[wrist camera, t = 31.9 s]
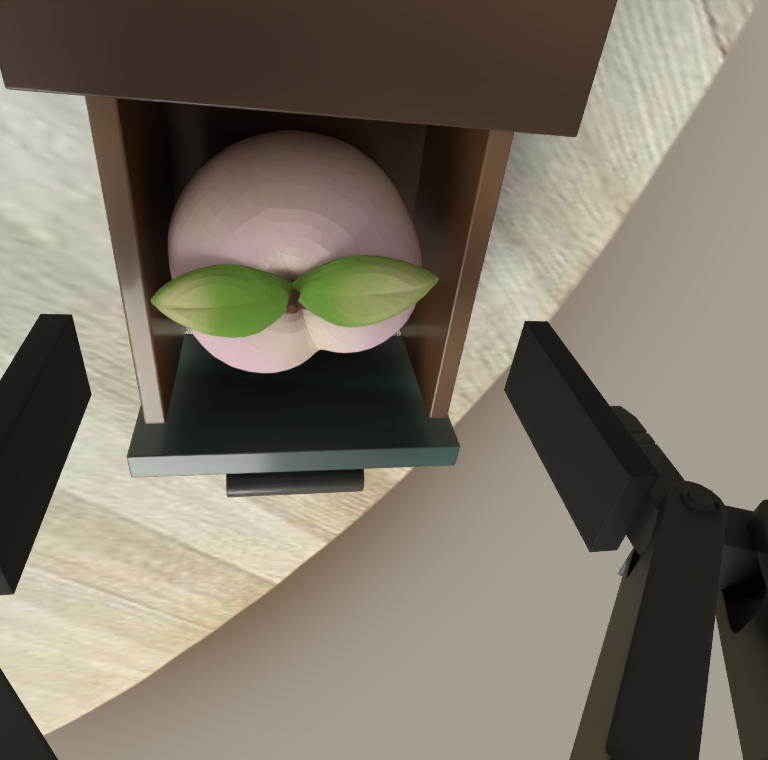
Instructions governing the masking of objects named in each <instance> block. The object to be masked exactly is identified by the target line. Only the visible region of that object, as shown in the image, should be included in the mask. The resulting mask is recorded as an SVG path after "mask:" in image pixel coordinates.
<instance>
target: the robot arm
mask: <svg viewBox="0 0 768 760" xmlns="http://www.w3.org/2000/svg"><path fill="white" fill-rule="evenodd" d="M504 391H505V392H506V394H507V396H508V398H509V400H510V402H511V404H512V406H513V407H514V410H515V411H516V413H517V415H518V417H519V419H520V421H521V423H522V425H523V427H524V429H525V430H526V432H527V434H528V436H529V438H530V440H531V442H532V444H533V446H534V447H535V449H536V451H537V453H538V455H539V457H540V459H541V461H542V463H543V464H544V466H545V468H546V470H547V472H548V474H549V476H550V478H551V480H552V482H553V483H554V485H555V487H556V489H557V491H558V493H559V495H560V497H561V499H562V500H563V502H564V504H565V506H566V508H567V510H568V512H569V514H570V516H571V518H572V519H573V521H574V523H575V525H576V527H577V529H578V531H579V533H580V535H581V536H582V538H583V540H584V542H585V544H586V546H587V548H588V550H589V552H598V551H611V550H617V549H618V548H619V546H620V544H621V542H622V540H623V539H624V537H625V535H627V537H628V539H629V540H630V542H631V543H632V545H633V547H634V548H633V549H632V551H631V553H630V554H629V556H628V558H627V559H626V561H625V563H624V564H623V566H622V567H621V569H620V571H619V573H618V574H619V575H621V576H622V575H623V577H622V580H621V584H620V587H619V590H618V594H617V598H616V601H615V605H614V608H613V611H612V615H611V618H610V622H609V625H608V628H607V632H606V635H605V639H604V642H603V646H602V649H601V653H600V656H599V659H598V663H597V666H596V670H595V674H594V677H593V680H592V684H591V687H590V691H589V694H588V697H587V701H586V704H585V708H584V711H583V715H582V718H581V722H580V725H579V729H578V732H577V736H576V739H575V742H574V746H573V749H572V753H571V756H570V760H699V752H700V743H701V735H702V726H703V717H704V709H705V700H706V692H707V683H708V674H709V666H710V657H711V649H712V640H713V631H714V622H715V614H716V619H717V624H718V629H719V635H720V640H721V645H722V650H723V656H724V661H725V666H726V671H727V677H728V681H729V687H730V692H731V697H732V703H733V708H734V713H735V718H736V723H737V729H738V734H739V739H740V744H741V750H742V754H743V760H768V500H763V501H762V502H761V503H760V504H759V506H758V507H757V508H756V509H755V511H748V510H744V509H739V508H735V507H730V506H725V505H724V504H723V502H722V501H721V499H720V498H719V497H718V496H717V495H716V494H714V493H713V492H712V491H711V490H709V489H707V488H705V487H704V486H702V485H700V484H696V483H693V482H690V481H685V480H684V479H683V477H682V476H681V475H680V474H679V472H678V471H677V470H676V468H675V467H674V466H673V465H672V463H671V462H670V461H669V459H668V458H667V457H666V455H665V454H664V453H663V452H662V450H661V449H660V448H659V446H657V444H655V441H654V440H653V439H652V437H651V436H650V435H649V434H647V433H646V430H645V428H644V427H643V426H642V424H641V423H640V422H639V421H638V419H637V418H636V417H635V416H633V415H632V414H631V413H629V412H628V411H626V410H625V409H624V408H623V407H621V406H609V404H608V403H607V402H606V400H605V399H604V398H603V396H602V395H601V393H600V392H599V391H598V389H597V388H596V387H595V385H594V384H593V383H592V381H591V380H590V379H589V377H588V376H587V374H586V373H585V372H584V370H583V369H582V368H581V366H580V365H579V364H578V362H577V361H576V360H575V358H574V357H573V355H572V354H571V353H570V352H569V350H568V349H567V347H566V346H565V345H564V343H563V342H562V341H561V339H560V338H559V336H558V335H557V334H556V332H555V331H554V330H553V328H552V327H551V326H550V324H549V323H548V322H547V321H525V323H524V326H523V329H522V333H521V336H520V339H519V343H518V346H517V349H516V352H515V356H514V359H513V362H512V366H511V369H510V373H509V376H508V379H507V382H506V386H505V389H504ZM90 397H91V390H90V386H89V382H88V378H87V374H86V370H85V366H84V362H83V358H82V354H81V350H80V346H79V342H78V338H77V334H76V330H75V325H74V321H73V317H72V315H68V314H40V316H39V318H38V319H37V321H36V322H35V324H34V326H33V327H32V329H31V331H30V332H29V334H28V336H27V337H26V339H25V341H24V342H23V344H22V345H21V347H20V349H19V350H18V352H17V354H16V355H15V357H14V359H13V360H12V362H11V364H10V365H9V367H8V368H7V370H6V372H5V373H4V375H3V377H2V378H1V380H0V595H10V594H14V593H15V590H16V587H17V585H18V582H19V580H20V577H21V575H22V572H23V569H24V567H25V564H26V562H27V559H28V557H29V554H30V551H31V549H32V546H33V544H34V541H35V539H36V536H37V533H38V531H39V528H40V526H41V523H42V521H43V518H44V515H45V513H46V510H47V508H48V505H49V503H50V500H51V497H52V495H53V492H54V490H55V487H56V485H57V482H58V479H59V477H60V474H61V472H62V469H63V467H64V464H65V461H66V459H67V456H68V454H69V451H70V449H71V446H72V443H73V441H74V438H75V436H76V433H77V431H78V428H79V425H80V423H81V420H82V418H83V415H84V412H85V410H86V407H87V405H88V402H89V400H90ZM0 760H58V759H57V758H56V756H55V754H54V752H53V751H52V749H51V748H50V746H49V745H48V743H47V741H46V740H45V738H44V737H43V735H42V733H41V732H40V730H39V729H38V727H37V726H36V724H35V722H34V721H33V719H32V718H31V716H30V714H29V713H28V711H27V710H26V708H25V707H24V705H23V703H22V702H21V700H20V699H19V697H18V695H17V694H16V692H15V691H14V689H13V688H12V686H11V684H10V683H9V681H8V680H7V678H6V676H5V675H4V673H3V672H2V670H1V669H0Z"/></svg>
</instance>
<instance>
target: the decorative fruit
mask: <svg viewBox="0 0 768 760" xmlns="http://www.w3.org/2000/svg"><path fill="white" fill-rule="evenodd" d="M168 256H169V266H170V272H171V278H172V280H171V281H169V282H168V283H166V284H165V285H164V286H162V287H161V288H160V289H159V290H158V291H157V292H156V293H155V295H154V296H153V297H152V298H151V303H152V304H153V305H154V306H156V307H157V308H158V309H159V310H160V311H161V312H162V313H163V314H165V315H166V316H167V317H169V318H170V319H172V320H173V321H175V322H177V323H179V324H181V325H183V326H185V327H187V328H189V329H190V330H191V332H192V333H193V335H194V336H195V337H196V339H197V340H198V341H199V342H200V343H201V345H202V346H203V347H204V348H205V349H206V350H207V351H209V352H210V353H211V354H212V355H213V356H214V357H216V358H217V359H219V360H221V361H223V362H224V363H226V364H228V365H230V366H231V367H235V368H238V369H241V370H245V371H248V372H257V373H276V372H280V371H285V370H288V369H291V368H293V367H296V366H298V365H300V364H302V363H303V362H305V361H306V360H308V359H309V358H310V357H311V356H312V355H313V354H314V353H316V352H317V351H319V350H328V351H332V352H339V353H351V352H359V351H363V350H366V349H370V348H373V347H375V346H377V345H379V344H381V343H383V342H384V341H386V340H387V339H388V338H390V337H391V336H393V335H394V334H396V333H397V332H398V330H399V329H400V328H401V327H402V326H403V325H404V324H405V323H406V322H407V320H408V318H409V317H410V315H411V313H412V311H413V310H414V308H415V305H416V303H417V302H418V301H419V300H420V299H421V298H423V297H424V296H425V295H426V294H427V293H428V292H429V290H430V289H431V288H432V287H433V286H434V285H435V284H436V283H437V282H438V280H439V279H438V277H437V276H436V275H435V274H433V273H431V272H430V271H428V270H426V269H424V268H422V257H421V250H420V244H419V240H418V237H417V233H416V230H415V227H414V225H413V222H412V220H411V217H410V215H409V213H408V211H407V208H406V206H405V204H404V202H403V200H402V198H401V196H400V194H399V192H398V191H397V189H396V187H395V186H394V184H393V183H392V181H391V180H390V178H389V177H388V176H387V174H386V173H385V172H384V171H383V170H382V169H381V168H380V167H379V166H378V165H377V164H376V163H375V162H374V161H373V160H372V159H371V158H370V157H368V156H367V155H366V154H364V153H363V152H361V151H360V150H358V149H357V148H355V147H354V146H352V145H350V144H348V143H346V142H344V141H342V140H339V139H337V138H334V137H331V136H327V135H323V134H318V133H313V132H306V131H298V130H278V131H274V132H269V133H264V134H259V135H256V136H253V137H249V138H246V139H244V140H241V141H238V142H236V143H234V144H232V145H230V146H228V147H227V148H225V149H223V150H222V151H221V152H219V153H218V154H216V155H215V156H214V157H213V158H211V159H210V160H209V161H208V162H207V163H206V164H204V165H203V166H202V167H201V168H200V169H199V170H198V171H197V172H196V173H195V174H194V175H193V177H192V178H191V179H190V180H189V181H188V183H187V184H186V186H185V187H184V189H183V191H182V192H181V194H180V196H179V198H178V200H177V202H176V204H175V207H174V209H173V212H172V216H171V220H170V224H169V230H168Z"/></svg>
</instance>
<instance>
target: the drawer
mask: <svg viewBox="0 0 768 760" xmlns="http://www.w3.org/2000/svg"><path fill="white" fill-rule="evenodd" d="M85 99H86V104H87V110H88V115H89V121H90V126H91V132H92V137H93V143H94V148H95V154H96V159H97V165H98V170H99V176H100V181H101V187H102V192H103V198H104V203H105V209H106V214H107V219H108V225H109V230H110V236H111V241H112V247H113V252H114V258H115V263H116V269H117V274H118V280H119V285H120V291H121V296H122V302H123V307H124V313H125V318H126V324H127V329H128V335H129V340H130V346H131V351H132V357H133V362H134V367H135V373H136V378H137V384H138V389H139V395H140V400H141V406H140V410H139V414H138V417H137V421H136V425H135V428H134V432H133V436H132V439H131V443H130V447H129V450H128V454H127V460H128V465H129V469H130V474H131V477H157V476H183V475H209V474H226V492H227V497H246V496H268V495H290V494H312V493H334V492H356V491H363V488H364V469H367V468H394V467H420V466H444V465H445V466H446V465H455V463H456V460H457V456H458V452H459V448H460V445H459V442H458V440H457V437H456V435H455V432H454V429H453V427H452V424H451V421H450V419H449V416H448V410H449V406H450V402H451V398H452V393H453V389H454V385H455V381H456V376H457V372H458V368H459V364H460V359H461V355H462V351H463V347H464V342H465V338H466V334H467V330H468V326H469V321H470V317H471V313H472V309H473V304H474V300H475V296H476V292H477V287H478V283H479V279H480V275H481V270H482V266H483V262H484V258H485V253H486V249H487V245H488V241H489V237H490V232H491V228H492V224H493V220H494V215H495V211H496V207H497V203H498V198H499V194H500V190H501V186H502V181H503V177H504V173H505V169H506V165H507V160H508V156H509V152H510V148H511V143H512V139H513V135H514V132H507V131H495V130H483V129H472V128H460V127H448V126H436V125H424V124H412V123H401V122H389V121H377V120H365V119H353V118H341V117H330V116H318V115H306V114H294V113H282V112H270V111H258V110H247V109H235V108H223V107H211V106H199V105H187V104H176V103H164V102H152V101H140V100H128V99H116V98H105V97H93V96H85ZM278 130H298V131H306V132H313V133H318V134H323V135H327V136H331V137H334V138H337V139H339V140H342V141H344V142H346V143H348V144H350V145H352V146H354V147H355V148H357V149H358V150H360V151H361V152H363V153H364V154H366V155H367V156H368V157H370V158H371V159H372V160H373V161H374V162H375V163H376V164H377V165H378V166H379V167H380V168H381V169H382V170H383V171H384V172H385V173H386V174H387V176H388V177H389V178H390V180H391V181H392V183H393V184H394V186H395V187H396V189H397V191H398V192H399V194H400V196H401V198H402V200H403V202H404V204H405V206H406V208H407V211H408V213H409V215H410V217H411V220H412V222H413V225H414V227H415V230H416V233H417V237H418V240H419V244H420V250H421V257H422V268H424V269H426V270H428V271H430V272H431V273H433V274H435V275H436V276H437V277H438V279H439V280H438V282H437V283H436V284H435V285H434V286H433V287H432V288H431V289H430V290H429V292H428V293H427V294H426V295H425V296H424V297H423V298H421V299H420V300H419V301H418V302H417V303H416V305H415V308H414V310H413V311H412V313H411V315H410V317H409V318H408V320H407V322H406V323H405V324H404V325H403V326H402V327H401V328H400V332H401V335H402V336H391V337H390V338H388V339H387V340H386V341H384V342H383V343H381V344H379V345H377V346H375V347H373V348H370V349H366V350H363V351H359V352H351V353H339V352H332V351H328V350H319V351H317V352H316V353H314V354H313V355H312V356H311V357H310V358H309V359H308V360H306V361H305V362H303V363H302V364H300V365H298V366H296V367H293V368H291V369H288V370H285V371H280V372H276V373H257V372H248V371H245V370H241V369H238V368H235V367H231V366H230V365H228V364H226V363H224V362H223V361H221V360H219V359H217V358H216V357H214V356H213V355H212V354H211V353H210V352H209V351H207V350H206V349H205V348H204V347H203V346H202V345H201V343H200V342H199V341H198V340H197V339H196V337H195V336H194V335H193V334H185V331H186V327H185V326H183V325H181V324H179V323H177V322H175V321H173V320H172V319H170V318H169V317H167V316H166V315H165V314H163V313H162V312H161V311H160V310H159V309H158V308H157V307H156V306H154V305H153V304H152V303H151V298H152V297H153V296H154V295H155V293H156V292H157V291H158V290H159V289H160V288H161V287H162V286H164V285H165V284H166V283H168V282H169V281H171V280H172V278H171V272H170V266H169V256H168V230H169V224H170V220H171V216H172V212H173V209H174V207H175V204H176V202H177V200H178V198H179V196H180V194H181V192H182V191H183V189H184V187H185V186H186V184H187V183H188V181H189V180H190V179H191V178H192V177H193V175H194V174H195V173H196V172H197V171H198V170H199V169H200V168H201V167H202V166H203V165H204V164H206V163H207V162H208V161H209V160H210V159H211V158H213V157H214V156H215V155H216V154H218V153H219V152H221V151H222V150H223V149H225V148H227V147H228V146H230V145H232V144H234V143H236V142H238V141H241V140H244V139H246V138H249V137H253V136H256V135H259V134H264V133H269V132H274V131H278Z"/></svg>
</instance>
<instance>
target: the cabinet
mask: <svg viewBox="0 0 768 760" xmlns="http://www.w3.org/2000/svg"><path fill="white" fill-rule="evenodd" d="M616 3H617V0H0V69H1V73H2V77H3V81H4V85H5V87H6V88H7V89H10V90H22V91H34V92H45V93H57V94H69V95H81V96H93V97H105V98H116V99H128V100H140V101H152V102H164V103H176V104H187V105H199V106H211V107H223V108H235V109H247V110H258V111H270V112H282V113H294V114H306V115H318V116H330V117H341V118H353V119H365V120H377V121H389V122H401V123H412V124H424V125H436V126H448V127H460V128H472V129H483V130H495V131H507V132H519V133H531V134H543V135H555V136H566V137H576V136H577V134H578V130H579V127H580V124H581V120H582V117H583V114H584V110H585V107H586V104H587V100H588V97H589V94H590V90H591V87H592V84H593V80H594V77H595V74H596V70H597V67H598V63H599V60H600V57H601V53H602V50H603V47H604V43H605V40H606V37H607V33H608V30H609V27H610V23H611V20H612V17H613V13H614V10H615V7H616Z"/></svg>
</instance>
